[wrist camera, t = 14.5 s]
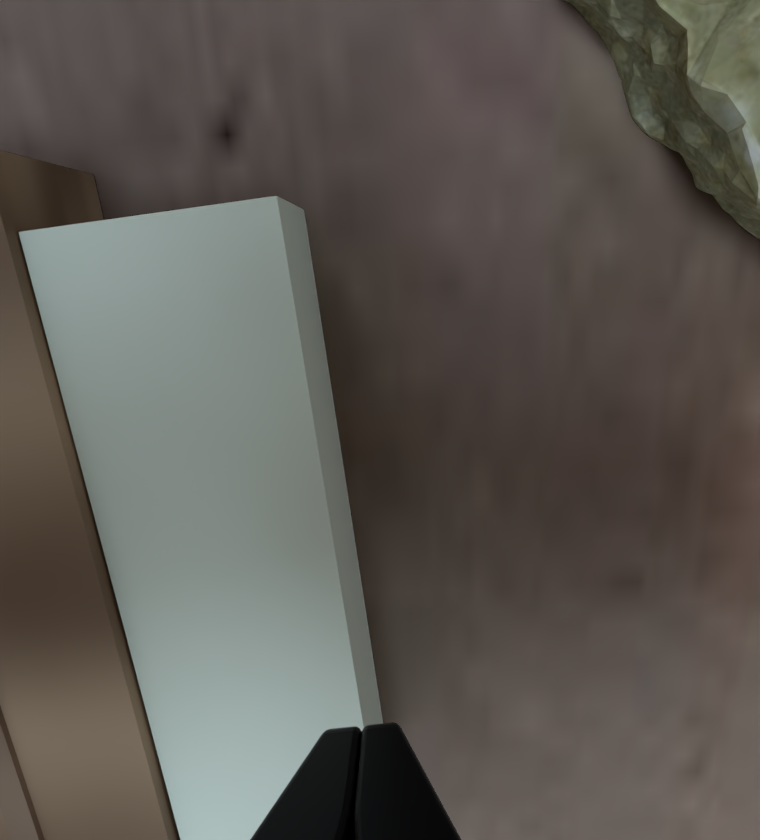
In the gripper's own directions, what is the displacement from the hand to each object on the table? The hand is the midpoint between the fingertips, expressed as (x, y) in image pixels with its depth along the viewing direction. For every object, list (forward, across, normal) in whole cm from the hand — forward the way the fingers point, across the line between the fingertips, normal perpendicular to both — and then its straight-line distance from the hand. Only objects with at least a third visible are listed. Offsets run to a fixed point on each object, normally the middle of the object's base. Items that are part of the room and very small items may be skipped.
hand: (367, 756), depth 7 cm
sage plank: (+9, +3, 0) cm, 10 cm away
